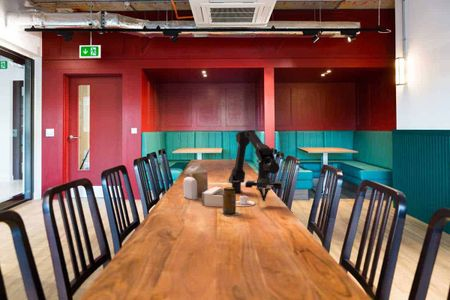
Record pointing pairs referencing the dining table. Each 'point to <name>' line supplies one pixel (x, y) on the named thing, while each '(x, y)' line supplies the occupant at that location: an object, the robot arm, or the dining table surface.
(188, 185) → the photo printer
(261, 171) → the robot arm
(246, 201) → the white ring with cylinder
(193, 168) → the milk carton
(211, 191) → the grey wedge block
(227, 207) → the condiment
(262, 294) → the dining table surface
